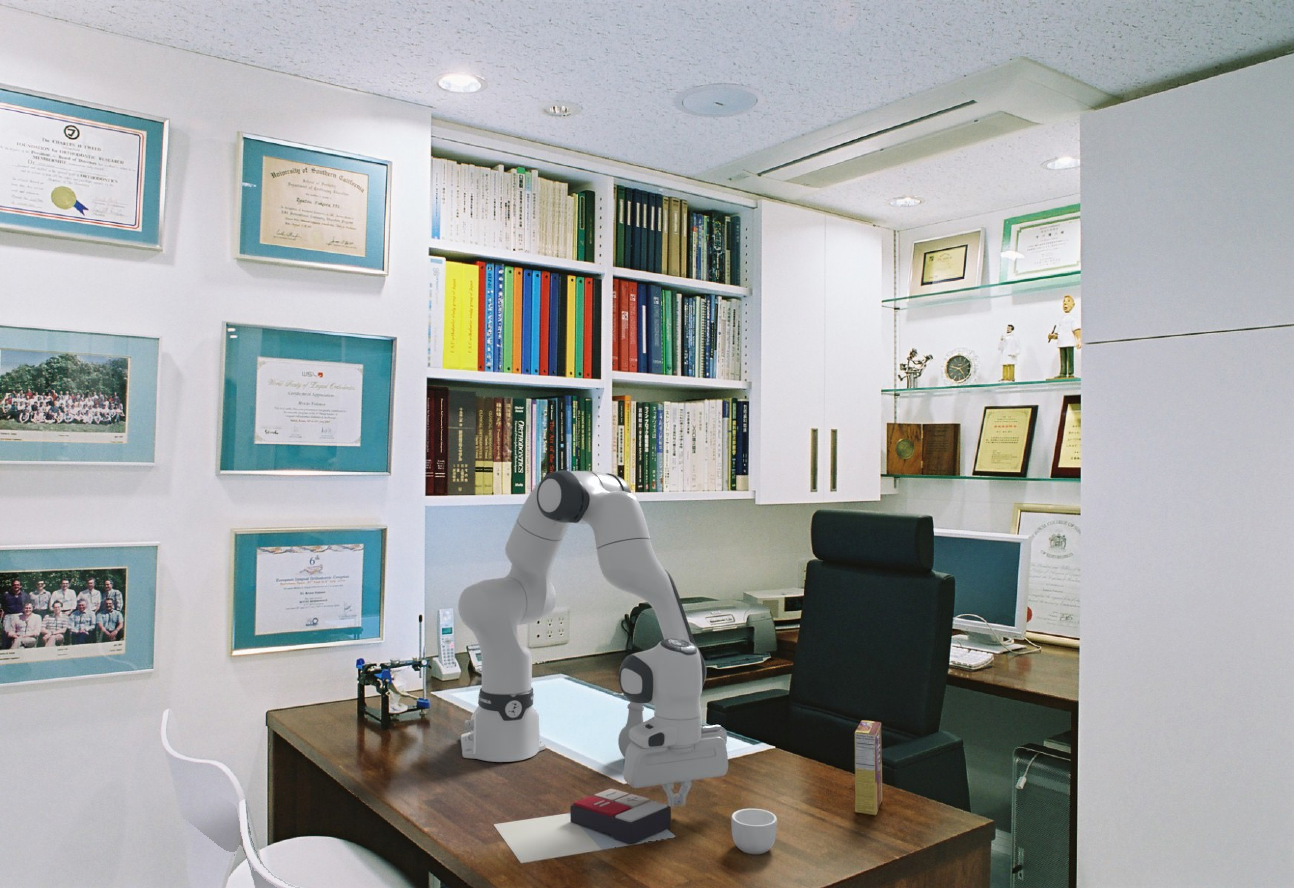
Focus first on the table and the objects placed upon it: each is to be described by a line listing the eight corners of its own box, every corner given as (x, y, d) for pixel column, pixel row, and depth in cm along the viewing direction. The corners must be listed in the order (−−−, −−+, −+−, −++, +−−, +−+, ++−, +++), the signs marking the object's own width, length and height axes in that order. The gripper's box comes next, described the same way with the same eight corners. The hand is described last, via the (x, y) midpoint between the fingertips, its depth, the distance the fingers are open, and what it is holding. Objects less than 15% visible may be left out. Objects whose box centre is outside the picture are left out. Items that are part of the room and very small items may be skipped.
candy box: (860, 796, 181) (861, 719, 181) (882, 800, 179) (883, 721, 180) (852, 812, 173) (854, 730, 173) (876, 815, 171) (877, 733, 171)
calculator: (610, 785, 173) (671, 801, 164) (611, 808, 173) (672, 826, 163) (569, 800, 165) (630, 819, 155) (569, 825, 165) (631, 844, 155)
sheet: (493, 825, 163) (493, 824, 163) (636, 804, 175) (636, 803, 175) (521, 863, 148) (521, 862, 148) (676, 837, 159) (676, 836, 159)
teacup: (766, 862, 150) (767, 829, 150) (723, 852, 154) (724, 820, 154) (787, 840, 159) (787, 809, 159) (745, 831, 162) (746, 801, 163)
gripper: (718, 719, 176) (717, 791, 176) (620, 730, 168) (619, 806, 167) (735, 728, 171) (733, 802, 170) (634, 740, 162) (633, 818, 162)
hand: (676, 804), depth 169 cm, fingers closed
